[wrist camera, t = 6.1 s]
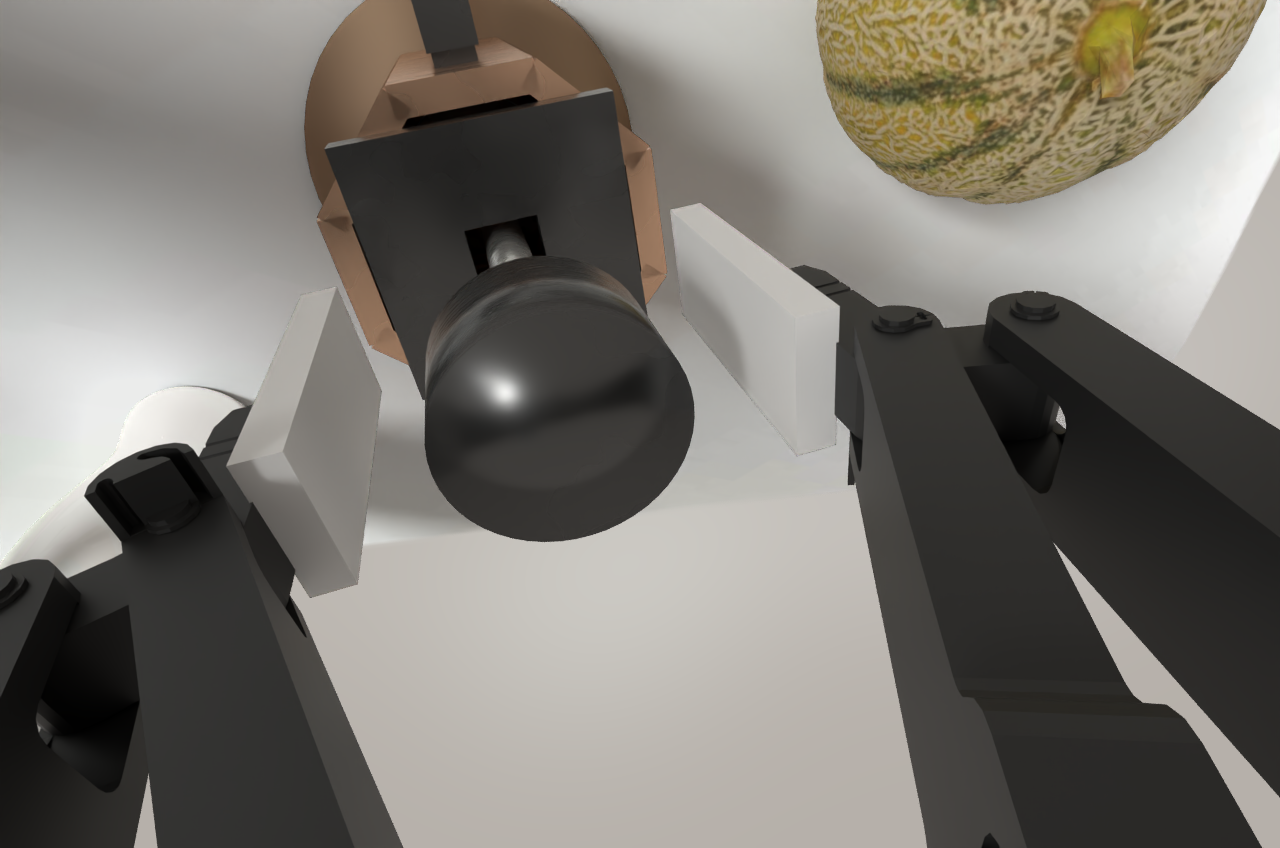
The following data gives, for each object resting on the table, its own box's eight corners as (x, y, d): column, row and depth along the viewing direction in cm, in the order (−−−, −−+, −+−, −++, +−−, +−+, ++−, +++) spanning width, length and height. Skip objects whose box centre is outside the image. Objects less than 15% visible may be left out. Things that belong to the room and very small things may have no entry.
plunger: (434, 256, 29) (440, 613, 12) (384, 108, 26) (297, 315, 9) (567, 226, 30) (747, 520, 13) (536, 78, 26) (725, 214, 10)
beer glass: (290, 486, 36) (218, 737, 24) (142, 502, 34) (-19, 781, 22) (259, 371, 32) (154, 598, 20) (91, 382, 30) (-136, 637, 18)
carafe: (410, 284, 31) (401, 435, 20) (301, -19, 25) (198, -36, 14) (598, 240, 33) (684, 360, 22) (544, -59, 26) (627, -104, 15)
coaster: (379, 336, 33) (378, 341, 32) (242, 5, 25) (239, 5, 24) (648, 271, 35) (652, 274, 34) (601, -56, 27) (605, -57, 26)
